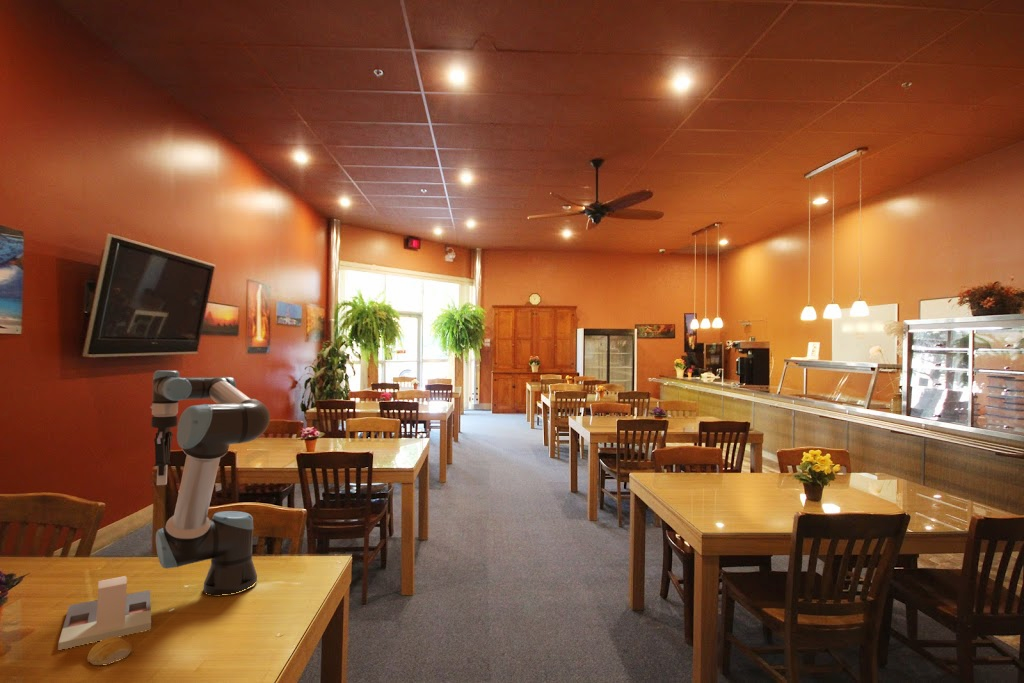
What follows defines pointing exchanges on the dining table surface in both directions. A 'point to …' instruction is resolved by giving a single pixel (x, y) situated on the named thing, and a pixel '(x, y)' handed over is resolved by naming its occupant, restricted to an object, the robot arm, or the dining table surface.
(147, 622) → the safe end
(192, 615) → the dining table surface
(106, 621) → the cream block
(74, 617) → the board
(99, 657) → the bread roll
